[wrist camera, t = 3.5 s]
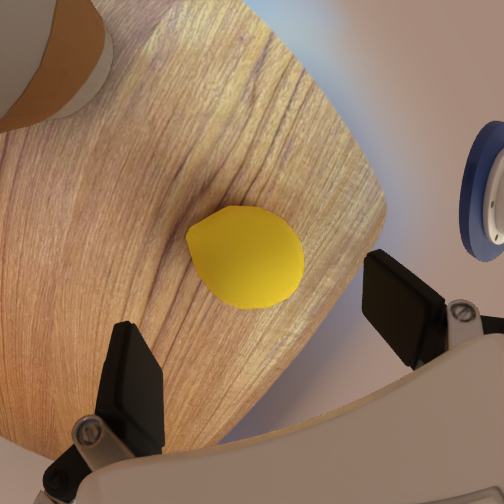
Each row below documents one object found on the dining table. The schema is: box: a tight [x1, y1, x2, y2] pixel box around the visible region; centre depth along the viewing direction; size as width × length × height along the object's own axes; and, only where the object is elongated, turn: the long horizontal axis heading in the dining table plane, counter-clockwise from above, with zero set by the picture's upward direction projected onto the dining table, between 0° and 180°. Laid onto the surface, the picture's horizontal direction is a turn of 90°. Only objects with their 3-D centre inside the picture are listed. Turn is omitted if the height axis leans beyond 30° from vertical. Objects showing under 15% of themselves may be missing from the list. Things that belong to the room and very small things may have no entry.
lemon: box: [185, 206, 305, 309], centre depth 15 cm, size 7×5×5 cm
